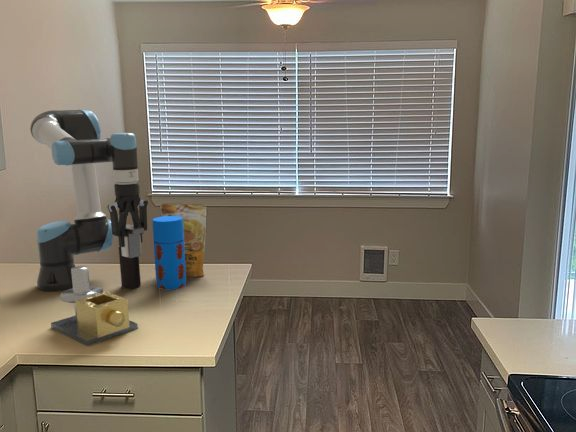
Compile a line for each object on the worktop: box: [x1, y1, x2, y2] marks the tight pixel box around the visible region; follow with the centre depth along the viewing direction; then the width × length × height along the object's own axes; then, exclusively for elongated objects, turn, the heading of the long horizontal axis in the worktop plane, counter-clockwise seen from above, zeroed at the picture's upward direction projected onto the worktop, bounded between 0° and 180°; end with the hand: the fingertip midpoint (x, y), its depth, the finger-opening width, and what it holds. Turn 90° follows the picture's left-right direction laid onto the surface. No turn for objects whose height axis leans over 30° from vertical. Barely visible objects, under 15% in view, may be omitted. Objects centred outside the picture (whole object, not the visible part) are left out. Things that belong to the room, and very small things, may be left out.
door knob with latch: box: [50, 265, 139, 347], centre depth 161 cm, size 26×16×18 cm, turn 49°
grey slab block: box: [121, 223, 145, 258], centre depth 176 cm, size 10×4×10 cm, turn 49°
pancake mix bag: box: [158, 203, 209, 278], centre depth 214 cm, size 7×19×28 cm, turn 76°
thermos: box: [152, 216, 187, 291], centre depth 201 cm, size 11×11×25 cm
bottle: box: [118, 245, 142, 290], centre depth 201 cm, size 7×7×20 cm
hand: (131, 254), depth 177 cm, fingers closed on grey slab block, 4 cm apart
